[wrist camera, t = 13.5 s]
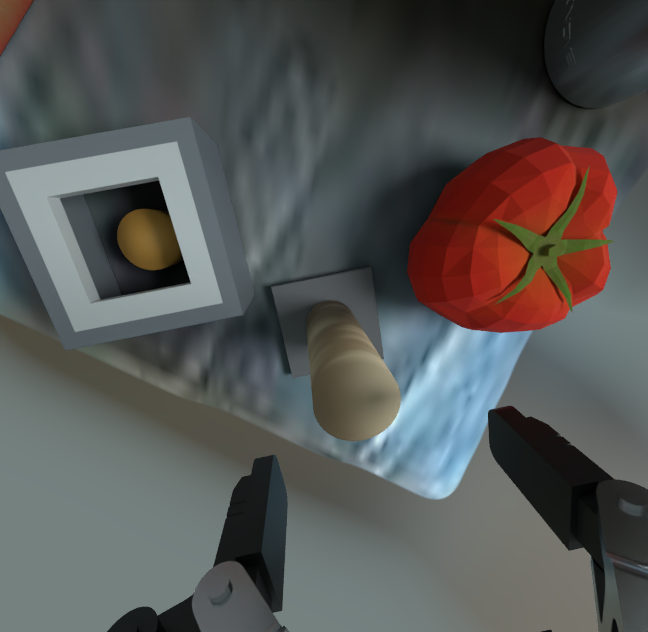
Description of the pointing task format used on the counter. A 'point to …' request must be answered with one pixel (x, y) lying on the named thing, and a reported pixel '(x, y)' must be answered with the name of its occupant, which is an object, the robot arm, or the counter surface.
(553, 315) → the tomato
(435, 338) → the counter surface
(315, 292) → the mat
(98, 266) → the box
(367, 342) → the beige ridged cylinder
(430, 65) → the counter surface
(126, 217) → the orange dome
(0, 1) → the cracker box
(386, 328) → the counter surface
